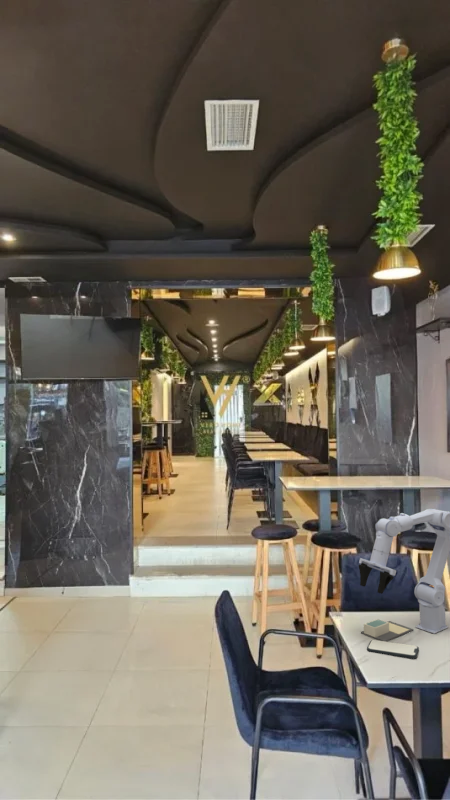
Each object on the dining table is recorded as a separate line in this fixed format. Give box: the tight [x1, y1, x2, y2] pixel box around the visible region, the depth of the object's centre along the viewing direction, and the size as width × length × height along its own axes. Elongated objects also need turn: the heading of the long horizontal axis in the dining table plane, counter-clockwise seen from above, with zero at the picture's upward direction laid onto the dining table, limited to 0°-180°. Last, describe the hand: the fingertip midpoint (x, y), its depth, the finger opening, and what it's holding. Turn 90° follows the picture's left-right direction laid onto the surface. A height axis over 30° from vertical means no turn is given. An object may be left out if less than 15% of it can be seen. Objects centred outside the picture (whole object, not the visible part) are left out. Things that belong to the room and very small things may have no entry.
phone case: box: [366, 639, 420, 660], centre depth 176 cm, size 9×2×16 cm
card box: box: [363, 618, 389, 637], centre depth 189 cm, size 8×5×3 cm, turn 126°
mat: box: [360, 620, 414, 642], centre depth 191 cm, size 17×10×1 cm, turn 126°
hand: (371, 589), depth 185 cm, fingers open, 7 cm apart
